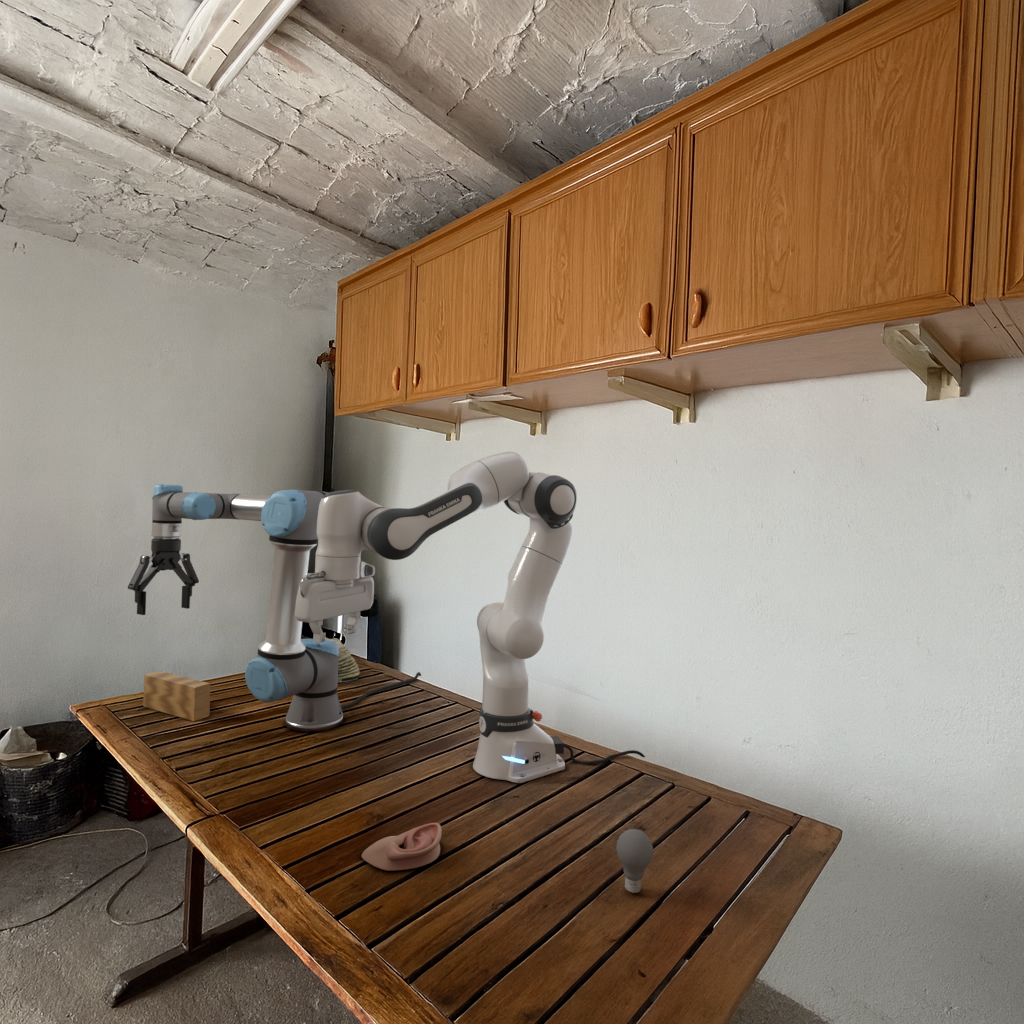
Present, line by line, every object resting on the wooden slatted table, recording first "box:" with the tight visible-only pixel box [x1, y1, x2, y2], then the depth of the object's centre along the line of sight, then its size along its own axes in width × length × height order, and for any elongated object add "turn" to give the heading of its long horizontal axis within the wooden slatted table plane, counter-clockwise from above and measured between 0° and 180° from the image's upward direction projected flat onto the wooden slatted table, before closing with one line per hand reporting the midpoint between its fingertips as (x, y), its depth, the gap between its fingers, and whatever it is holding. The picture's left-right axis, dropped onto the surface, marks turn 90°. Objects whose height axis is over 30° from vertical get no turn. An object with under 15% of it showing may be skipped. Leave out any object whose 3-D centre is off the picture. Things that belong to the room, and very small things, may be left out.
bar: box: [142, 670, 211, 722], centre depth 181 cm, size 22×5×9 cm, turn 63°
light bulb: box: [615, 828, 654, 894], centre depth 106 cm, size 6×6×10 cm
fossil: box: [325, 636, 361, 683], centre depth 216 cm, size 9×18×15 cm, turn 132°
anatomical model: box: [361, 822, 443, 872], centre depth 114 cm, size 13×4×12 cm
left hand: (164, 611), depth 183 cm, fingers open, 13 cm apart
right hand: (335, 637), depth 128 cm, fingers open, 8 cm apart
